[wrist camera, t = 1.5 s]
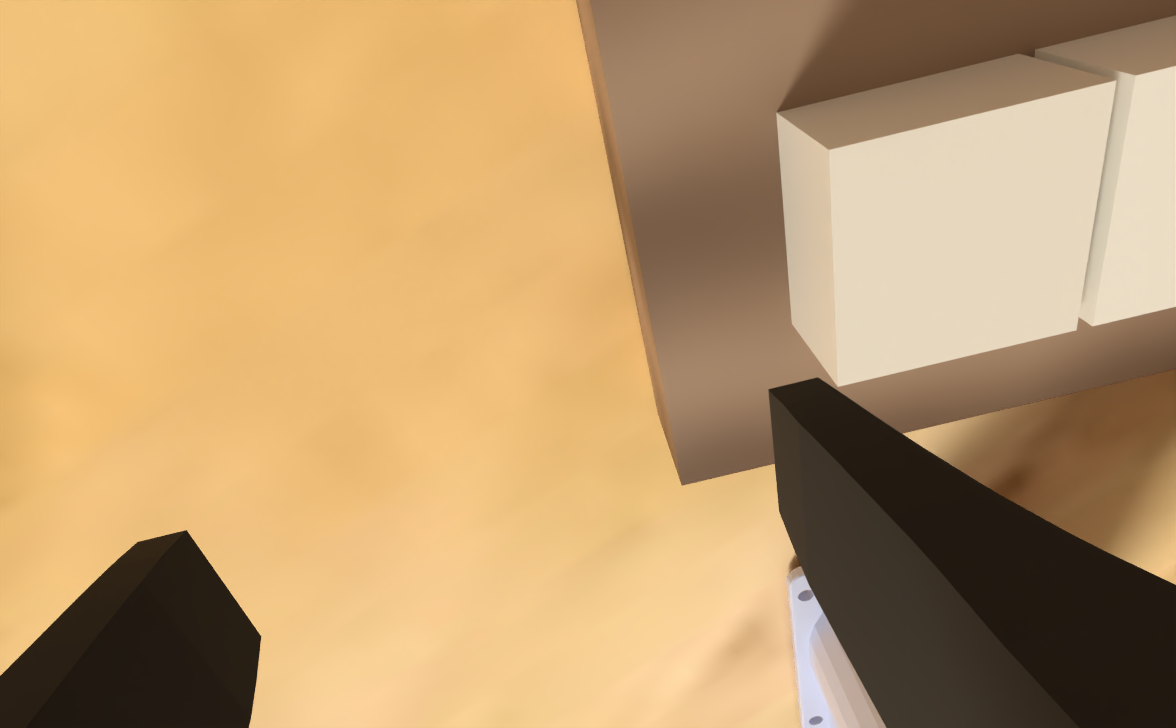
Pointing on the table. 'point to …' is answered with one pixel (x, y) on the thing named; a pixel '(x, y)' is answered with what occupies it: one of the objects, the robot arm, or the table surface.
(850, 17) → the walnut plate
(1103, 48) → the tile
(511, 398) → the table surface
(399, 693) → the table surface
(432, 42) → the table surface
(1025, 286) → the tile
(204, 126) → the table surface
